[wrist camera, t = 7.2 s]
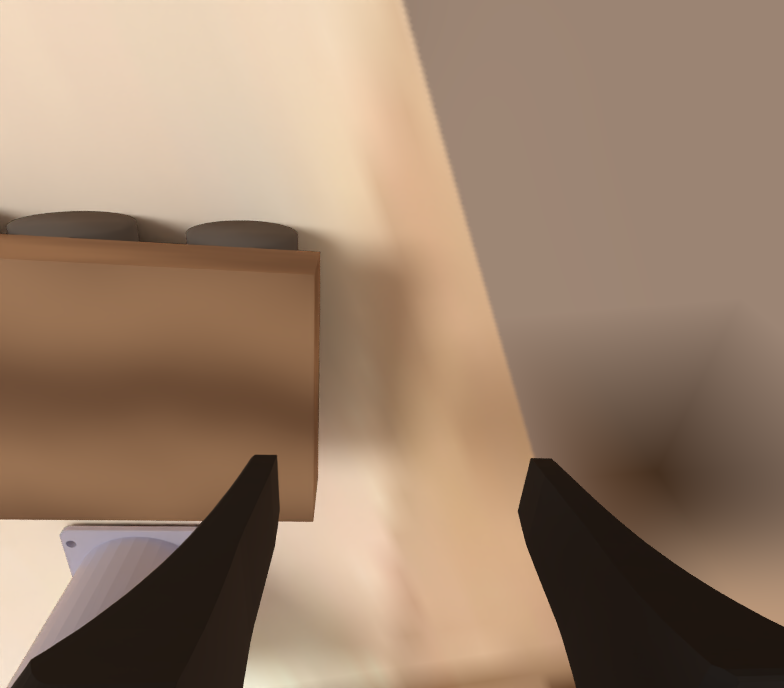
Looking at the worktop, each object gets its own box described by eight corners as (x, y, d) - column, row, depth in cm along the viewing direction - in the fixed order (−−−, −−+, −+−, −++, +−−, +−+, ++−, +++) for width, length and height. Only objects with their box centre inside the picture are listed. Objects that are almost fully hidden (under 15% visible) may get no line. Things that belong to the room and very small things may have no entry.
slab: (318, 477, 21) (313, 521, 19) (-28, 471, 20) (-77, 518, 18) (320, 251, 17) (314, 275, 14) (-124, 227, 15) (-206, 248, 13)
